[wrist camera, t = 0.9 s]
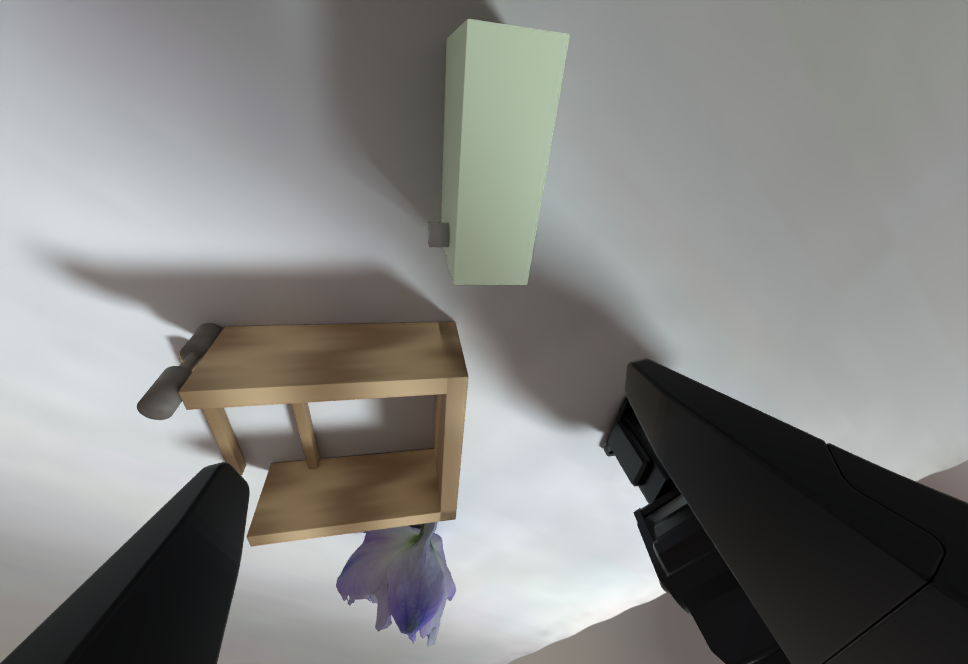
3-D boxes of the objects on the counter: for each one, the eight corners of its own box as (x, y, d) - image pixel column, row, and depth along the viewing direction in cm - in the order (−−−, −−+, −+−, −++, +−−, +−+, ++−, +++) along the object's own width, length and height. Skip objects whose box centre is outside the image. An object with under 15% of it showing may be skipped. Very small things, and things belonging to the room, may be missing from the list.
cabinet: (455, 318, 22) (470, 380, 17) (447, 456, 28) (456, 526, 24) (176, 324, 19) (107, 400, 14) (240, 476, 25) (206, 561, 21)
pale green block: (519, 49, 15) (570, 34, 11) (497, 238, 20) (527, 284, 15) (425, 36, 14) (438, 14, 10) (424, 236, 19) (432, 284, 14)
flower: (376, 555, 22) (373, 703, 23) (486, 505, 27) (479, 626, 29) (325, 486, 29) (325, 602, 30) (421, 458, 34) (418, 556, 36)
